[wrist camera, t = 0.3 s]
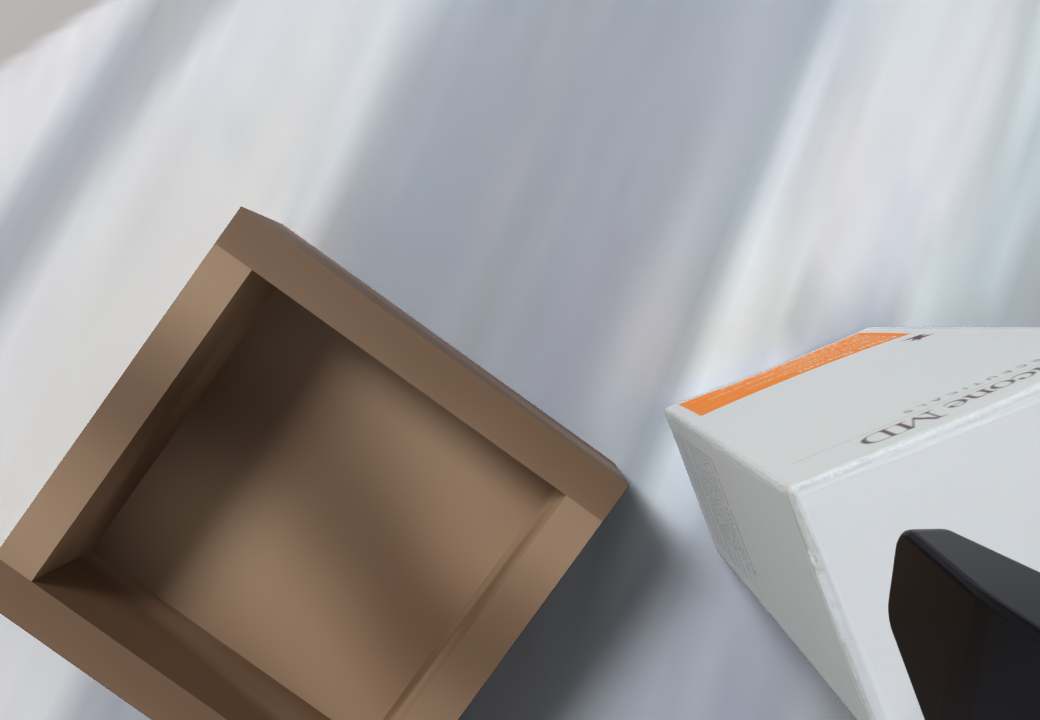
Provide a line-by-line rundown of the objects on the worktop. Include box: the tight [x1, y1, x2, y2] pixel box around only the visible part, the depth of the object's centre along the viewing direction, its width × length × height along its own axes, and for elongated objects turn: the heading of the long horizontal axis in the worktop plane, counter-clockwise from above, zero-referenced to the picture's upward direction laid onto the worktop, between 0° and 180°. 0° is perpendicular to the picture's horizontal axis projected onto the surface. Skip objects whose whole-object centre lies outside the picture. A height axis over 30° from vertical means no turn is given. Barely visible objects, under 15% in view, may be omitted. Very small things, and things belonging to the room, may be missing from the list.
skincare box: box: [665, 327, 1040, 720], centre depth 18 cm, size 6×4×12 cm
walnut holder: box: [0, 207, 629, 720], centre depth 22 cm, size 11×11×4 cm
